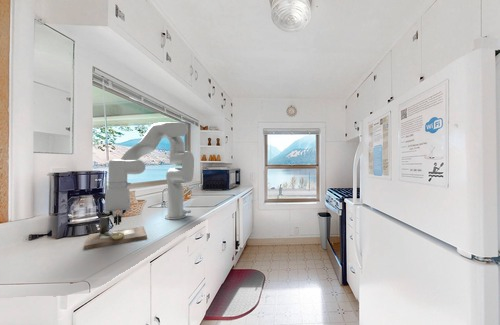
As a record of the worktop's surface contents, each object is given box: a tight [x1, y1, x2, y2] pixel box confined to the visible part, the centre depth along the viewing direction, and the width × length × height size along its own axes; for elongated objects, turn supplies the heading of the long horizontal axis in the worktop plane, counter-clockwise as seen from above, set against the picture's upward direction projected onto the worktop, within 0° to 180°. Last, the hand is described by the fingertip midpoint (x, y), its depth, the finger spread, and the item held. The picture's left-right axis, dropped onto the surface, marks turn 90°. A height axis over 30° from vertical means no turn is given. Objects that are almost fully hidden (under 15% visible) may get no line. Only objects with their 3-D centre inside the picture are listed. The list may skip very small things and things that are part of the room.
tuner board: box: [83, 226, 148, 250], centre depth 92 cm, size 22×16×2 cm
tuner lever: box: [99, 216, 124, 240], centre depth 90 cm, size 16×4×7 cm, turn 58°
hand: (117, 224), depth 97 cm, fingers closed
